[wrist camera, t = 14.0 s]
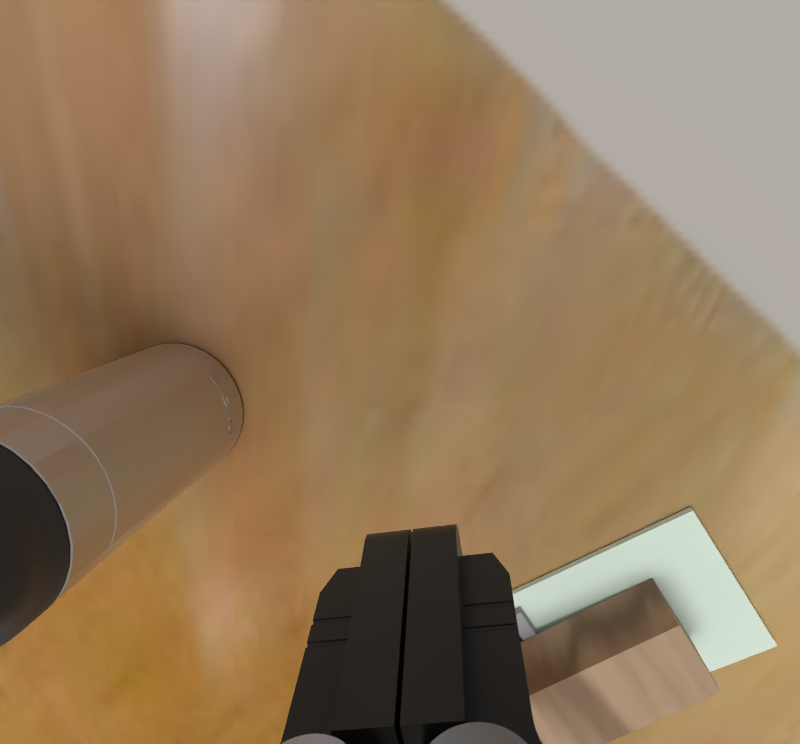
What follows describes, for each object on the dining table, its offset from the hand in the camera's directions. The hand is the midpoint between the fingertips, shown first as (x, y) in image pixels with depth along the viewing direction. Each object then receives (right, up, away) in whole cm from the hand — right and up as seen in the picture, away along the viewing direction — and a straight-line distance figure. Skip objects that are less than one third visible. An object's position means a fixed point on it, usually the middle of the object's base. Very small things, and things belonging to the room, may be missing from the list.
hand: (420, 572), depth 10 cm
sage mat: (+15, -13, +30) cm, 36 cm away
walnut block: (+7, -19, +29) cm, 35 cm away
